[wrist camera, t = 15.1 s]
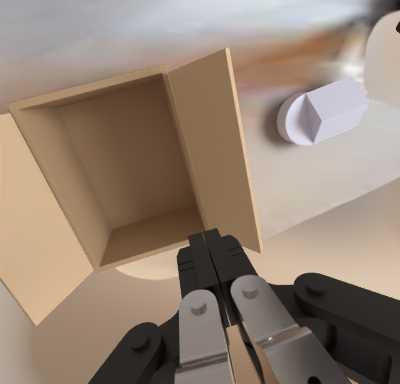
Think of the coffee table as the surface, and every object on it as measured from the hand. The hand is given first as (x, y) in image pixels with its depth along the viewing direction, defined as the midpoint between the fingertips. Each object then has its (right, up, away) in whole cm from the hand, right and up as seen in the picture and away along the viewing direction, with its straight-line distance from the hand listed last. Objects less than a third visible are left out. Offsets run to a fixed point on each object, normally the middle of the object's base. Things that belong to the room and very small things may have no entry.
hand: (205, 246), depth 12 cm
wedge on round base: (+20, +17, +33) cm, 42 cm away
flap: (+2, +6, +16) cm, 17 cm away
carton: (-12, +8, +30) cm, 33 cm away
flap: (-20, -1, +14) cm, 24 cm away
